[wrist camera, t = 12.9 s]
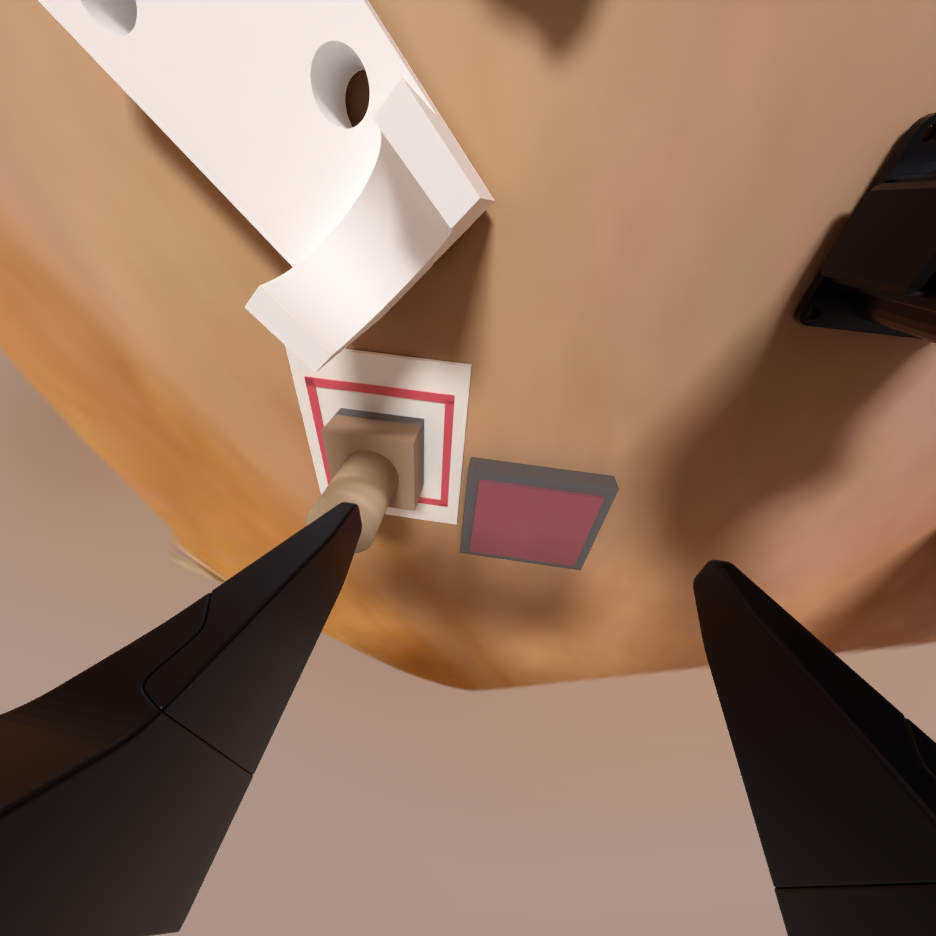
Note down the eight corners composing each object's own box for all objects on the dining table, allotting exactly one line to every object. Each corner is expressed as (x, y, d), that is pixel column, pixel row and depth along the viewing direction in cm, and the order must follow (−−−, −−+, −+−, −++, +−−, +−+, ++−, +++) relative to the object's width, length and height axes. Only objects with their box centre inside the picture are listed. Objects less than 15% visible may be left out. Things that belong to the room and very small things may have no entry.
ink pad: (614, 476, 21) (619, 492, 20) (578, 557, 26) (581, 573, 25) (471, 457, 22) (468, 471, 21) (461, 540, 27) (459, 555, 26)
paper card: (471, 364, 18) (470, 367, 18) (457, 521, 25) (456, 525, 25) (287, 341, 19) (283, 343, 18) (325, 502, 26) (323, 506, 26)
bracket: (495, 200, 14) (480, 197, 8) (384, 315, 17) (315, 373, 11) (190, -284, 9) (-474, -1279, 3) (112, 10, 12) (-278, -179, 6)
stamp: (424, 418, 20) (389, 499, 15) (423, 483, 23) (394, 570, 18) (340, 407, 20) (275, 483, 15) (351, 473, 23) (299, 556, 18)
